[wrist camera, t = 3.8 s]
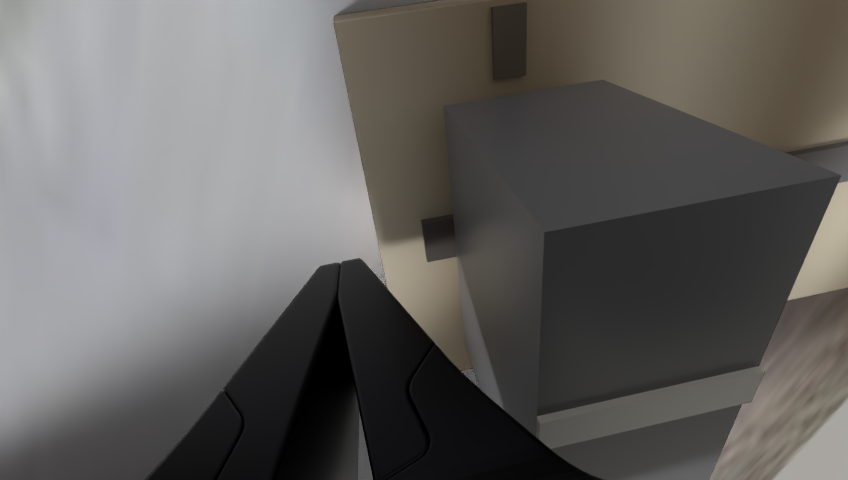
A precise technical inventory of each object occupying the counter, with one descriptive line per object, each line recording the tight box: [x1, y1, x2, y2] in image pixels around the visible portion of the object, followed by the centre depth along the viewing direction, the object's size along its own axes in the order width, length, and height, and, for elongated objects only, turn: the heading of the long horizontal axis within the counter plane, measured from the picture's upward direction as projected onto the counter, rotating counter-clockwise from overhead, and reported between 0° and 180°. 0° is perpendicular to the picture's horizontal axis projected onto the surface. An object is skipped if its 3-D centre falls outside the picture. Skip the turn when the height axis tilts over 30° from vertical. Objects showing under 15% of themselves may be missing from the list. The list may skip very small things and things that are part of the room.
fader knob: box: [443, 80, 841, 480], centre depth 8 cm, size 3×6×5 cm, turn 6°
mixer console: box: [334, 0, 848, 371], centre depth 11 cm, size 17×9×2 cm, turn 97°
